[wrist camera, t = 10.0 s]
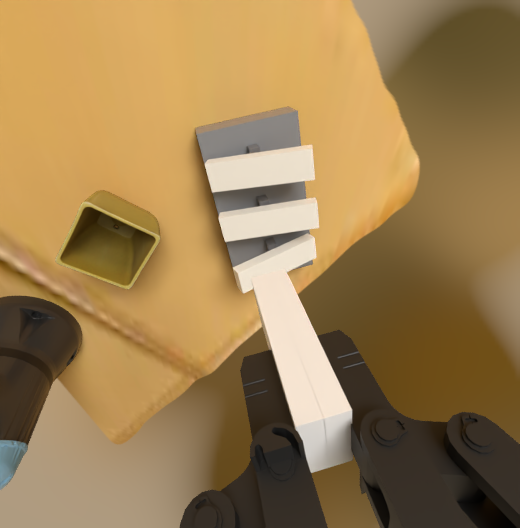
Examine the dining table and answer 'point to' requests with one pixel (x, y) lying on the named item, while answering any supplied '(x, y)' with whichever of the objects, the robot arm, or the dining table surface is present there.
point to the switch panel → (245, 142)
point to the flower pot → (110, 240)
